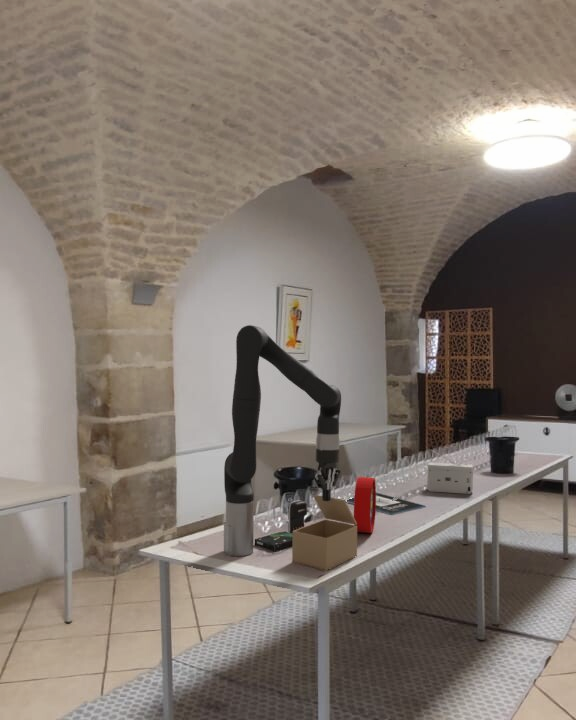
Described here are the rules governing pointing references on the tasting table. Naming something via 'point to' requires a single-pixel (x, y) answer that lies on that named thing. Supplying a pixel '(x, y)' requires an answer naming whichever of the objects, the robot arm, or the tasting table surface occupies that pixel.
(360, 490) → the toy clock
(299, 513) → the battery
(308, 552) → the carton
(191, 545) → the tasting table surface
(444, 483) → the stereo radio cassette player
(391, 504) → the sketchbook
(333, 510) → the carton flap
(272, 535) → the disk drive
